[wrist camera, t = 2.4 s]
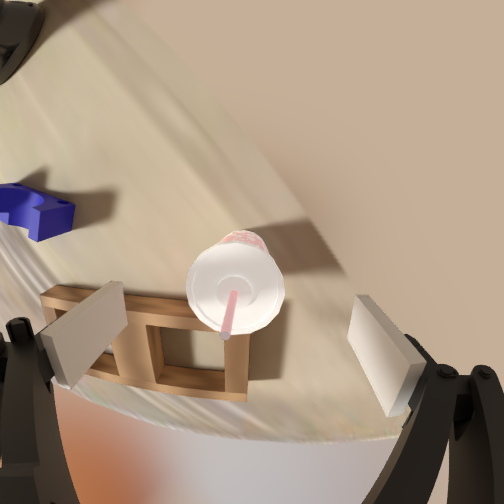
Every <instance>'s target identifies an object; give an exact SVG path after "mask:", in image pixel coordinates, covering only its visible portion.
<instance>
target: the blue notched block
mask: <svg viewBox="0 0 504 504" xmlns="http://www.w3.org/2000/svg"><path fill="white" fill-rule="evenodd" d="M74 210H75V204H73V203H70V202H67V201H64V200H62V199H59V198H56V197H54V196H51V195H48V194H45V193H43V192H40V191H37V190H35V189H32V188H29V187H27V186H24V185H22V184H19V183H7V184H0V220H1V221H2V222H4V223H6V224H8V225H15V226H20V227H23V228H26V229H29V236H28V238H30V239H32V240H34V241H36V242H39V241H42V240H45V239H48V238H51V237H54V236H57V235H60V234H63V233H66V232H69V231H71V229H72V222H73V216H74Z"/></svg>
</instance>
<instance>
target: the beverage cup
mask: <svg viewBox="0 0 504 504" xmlns="http://www.w3.org/2000/svg"><path fill="white" fill-rule="evenodd" d="M185 289H186V293H187V298H188V302H189V306H190V307H191V308H192V310H193V311H194V313H195V314H196V316H197V317H198V319H199V320H200V321H202V322H203V323H205V324H206V325H208V326H209V327H210V328H212V329H213V330H216V331H219V332H220V338H221V339H223V340H228V339H229V338H230V335H237V334H249V333H252V332H254V331H257V330H259V329H261V328H263V327H265V326H267V325H268V324H269V323H270V322H271V321H272V320H273V318H274V317H275V316H276V315H277V314H278V313H279V311H280V308H281V305H282V302H283V299H284V297H285V293H284V282H283V276H282V273H281V272H280V270H279V268H278V266H277V264H276V263H275V261H274V259H273V257H271V256H270V254H269V252H268V249H267V247H266V245H265V243H264V242H263V240H262V238H260V237H259V236H258V235H257V234H255V233H254V232H250V231H247V230H239V231H234V232H232V233H230V234H228V235H227V236H225V237H224V238H223V239H222V240H221V241H220V242H219V243H218V244H216V245H214V246H212V247H211V248H209V249H207V250H205V251H204V252H202V253H201V254H200V255H199V257H198V258H197V259H196V261H195V262H194V263H193V265H192V266H191V268H190V269H189V272H188V276H187V281H186V286H185Z"/></svg>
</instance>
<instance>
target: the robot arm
mask: <svg viewBox="0 0 504 504" xmlns="http://www.w3.org/2000/svg"><path fill="white" fill-rule="evenodd" d="M43 19H44V9H43V8H42V7H41V6H39V5H37V4H36V3H32V2H20V1H5V0H0V84H2V83H3V82H4V81H5V80H6V79H7V78H8V77H9V76H10V75H11V74H12V73H13V72H14V70H15V69H16V68H17V66H18V65H19V64H20V62H21V61H22V60H23V58H24V57H25V55H26V54H27V52H28V51H29V49H30V47H31V46H32V44H33V42H34V40H35V38H36V37H37V35H38V33H39V30H40V28H41V25H42V23H43ZM127 325H128V322H127V315H126V309H125V302H124V294H123V286H122V282H118V281H110V282H109V283H107V284H106V285H104V286H103V287H102V288H100V289H99V290H97V291H96V292H94V293H93V294H92V295H90V296H89V297H87V298H86V299H85V300H83V301H82V302H80V303H79V304H78V305H76V306H75V307H73V308H72V309H71V310H69V311H68V312H67V313H65V314H64V315H62V316H60V317H58V318H57V319H56V320H54V322H52V323H50V324H49V326H46V327H45V328H44V329H42V330H41V331H40V332H39V333H37V334H36V335H35V336H34V333H33V330H32V327H31V323H30V320H29V319H28V318H25V317H18V318H14V319H12V320H10V321H9V322H8V323H7V324H6V329H7V332H8V335H9V338H10V341H11V342H5V341H4V338H3V335H2V333H1V332H0V459H1V458H2V467H1V468H0V504H80V502H79V500H78V497H77V494H76V491H75V489H74V486H73V483H72V480H71V476H70V473H69V469H68V466H67V462H66V458H65V454H64V450H63V446H62V441H61V437H60V431H59V426H58V420H57V414H56V407H55V400H54V391H53V384H52V382H51V380H50V379H51V378H52V377H53V376H54V375H55V377H56V380H57V382H58V385H59V386H62V387H64V388H67V389H69V390H71V389H72V388H73V387H74V386H75V385H76V383H77V382H78V381H79V380H80V379H81V377H82V376H83V375H84V374H85V373H86V371H87V370H88V369H89V368H90V367H91V366H92V364H93V363H94V362H95V361H96V360H97V359H98V357H99V356H100V355H101V354H102V353H103V352H104V350H105V349H106V348H107V347H108V346H109V345H110V344H111V342H112V341H113V340H114V339H115V338H116V337H117V336H118V335H119V333H120V332H121V331H122V330H123V329H124V328H125V327H126V326H127ZM347 339H348V341H349V343H350V344H351V346H352V348H353V350H354V352H355V354H356V356H357V358H358V360H359V362H360V364H361V366H362V368H363V370H364V372H365V374H366V376H367V378H368V380H369V382H370V384H371V386H372V388H373V390H374V392H375V394H376V396H377V398H378V400H379V402H380V404H381V406H382V408H383V410H384V412H385V414H386V417H387V418H388V417H393V416H398V415H402V414H403V413H404V411H405V409H406V407H407V405H409V407H410V408H411V412H410V414H409V416H408V418H407V419H406V421H405V423H404V425H403V426H402V428H403V430H402V432H401V434H400V436H399V439H398V441H397V443H396V445H395V447H394V449H393V451H392V453H391V455H390V457H389V459H388V461H387V462H386V464H385V466H384V468H383V470H382V472H381V473H380V475H379V477H378V479H377V480H376V482H375V483H374V485H373V487H372V488H371V490H370V492H369V493H368V495H367V496H366V498H365V499H364V501H363V502H362V504H427V502H428V500H429V498H430V495H431V493H432V490H433V488H434V485H435V482H436V479H437V476H438V473H439V470H440V467H441V464H442V461H443V457H444V454H445V450H446V447H447V443H448V439H449V484H448V497H447V504H504V393H503V390H502V387H501V385H500V382H499V379H498V377H497V374H496V373H495V371H494V370H493V369H491V368H490V367H488V366H486V365H477V366H475V367H474V368H473V370H472V372H471V374H470V375H459V373H458V372H457V370H456V369H454V368H453V367H451V366H449V365H446V364H437V363H436V362H435V361H434V359H433V358H432V357H431V356H430V355H429V354H428V353H427V352H426V351H425V350H424V348H423V347H422V346H420V344H419V342H418V341H417V340H416V339H415V338H413V337H411V336H410V335H408V334H403V333H402V332H401V331H400V330H399V329H398V327H397V326H396V325H395V324H394V323H393V322H392V321H391V320H390V318H389V317H388V316H387V315H386V314H385V313H384V312H383V311H382V310H381V309H380V307H379V306H378V305H377V304H376V303H375V302H374V301H373V300H372V299H371V298H370V296H369V295H355V301H354V306H353V312H352V317H351V322H350V327H349V331H348V336H347Z"/></svg>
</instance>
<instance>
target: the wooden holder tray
mask: <svg viewBox="0 0 504 504" xmlns="http://www.w3.org/2000/svg"><path fill="white" fill-rule="evenodd" d="M94 292H96V291H93V290H86V289H79V288H73V287H66V286H60V285H55V286H54V287H52V288H50V289H49V290H47V291H46V292H44V293H42V294H41V295H40V300H41V304H42V308H43V312H44V316H45V320H46V323H47V326H49V324H50V323H52V322H54V320H56V319H57V318H58V317H60V316H62V315H64V314H65V313H67V312H68V311H69V310H71V309H72V308H73V307H75V306H76V305H78V304H79V303H80V302H82V301H83V300H85V299H86V298H87V297H89V296H90V295H92V294H93V293H94ZM124 302H125V309H126V315H127V322H128V325H127V326H126V327H125V328H124V329H123V330H122V331H121V332H120V333H119V335H118V336H117V337H116V338H115V339H114V340H113V341H112V342H111V345H112V349H113V353H114V356H113V355H109V354H104V353H102V354H101V355H100V356H99V357H98V359H97V360H96V361H95V362H94V363H93V364H92V366H91V367H90V368H89V369H88V370H87V371H86V373H85V374H87V375H90V376H94V377H97V378H101V379H104V380H108V381H112V382H116V383H120V384H124V385H128V386H133V387H137V388H142V389H147V390H152V391H158V392H163V393H169V394H176V395H183V396H190V397H198V398H207V399H217V400H228V401H244V402H247V389H248V369H249V347H250V333H249V334H237V335H230V338H229V339H228V340H224V354H225V372H222V371H211V370H201V369H192V368H183V367H176V366H169V365H165V363H164V356H163V350H162V343H161V335H160V328H159V326H161V327H169V328H178V329H188V330H198V331H210V332H219V331H216V330H213V329H212V328H210V327H209V326H208V325H206V324H205V323H203V322H202V321H200V320H199V319H198V317H197V316H196V314H195V313H194V311H193V310H192V308H191V307H190V306H189V302H188V301H186V300H174V299H163V298H153V297H143V296H134V295H125V294H124Z"/></svg>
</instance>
